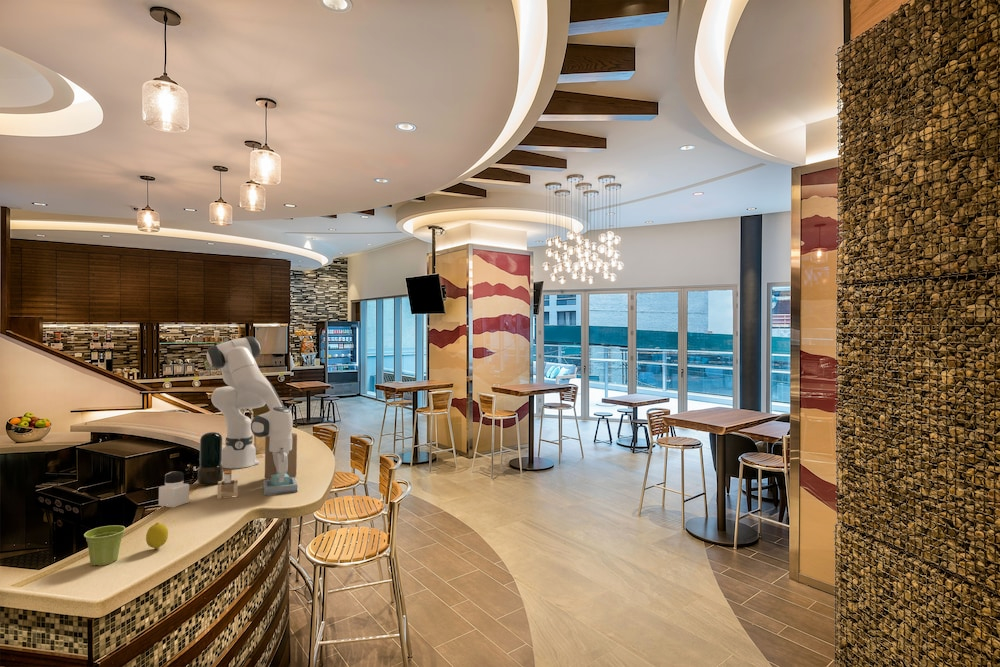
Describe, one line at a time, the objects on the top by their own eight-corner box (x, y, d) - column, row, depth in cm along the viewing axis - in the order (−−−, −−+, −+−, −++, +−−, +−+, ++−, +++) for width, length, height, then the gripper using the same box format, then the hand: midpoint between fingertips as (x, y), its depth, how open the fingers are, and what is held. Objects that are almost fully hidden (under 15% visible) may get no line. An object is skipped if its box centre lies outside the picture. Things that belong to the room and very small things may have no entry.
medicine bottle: (189, 502, 199) (190, 471, 200) (173, 508, 193) (173, 475, 193) (174, 500, 201) (175, 469, 201) (158, 506, 195) (158, 474, 195)
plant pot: (120, 552, 154) (120, 522, 154) (128, 561, 147) (129, 530, 147) (79, 561, 147) (80, 531, 147) (87, 572, 140) (88, 540, 140)
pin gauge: (223, 494, 209) (223, 470, 209) (230, 493, 211) (231, 469, 210) (224, 496, 207) (224, 471, 207) (231, 495, 208) (232, 470, 208)
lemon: (170, 549, 156) (170, 522, 156) (148, 554, 152) (149, 527, 152) (164, 544, 160) (165, 518, 160) (143, 549, 156) (143, 522, 156)
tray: (263, 487, 220) (263, 480, 220) (294, 484, 226) (294, 477, 226) (264, 495, 209) (264, 488, 209) (297, 491, 215) (297, 484, 215)
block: (263, 478, 233) (264, 434, 233) (282, 473, 242) (283, 431, 242) (278, 482, 228) (279, 436, 228) (297, 476, 237) (298, 433, 237)
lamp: (227, 482, 227) (228, 431, 227) (206, 487, 219) (207, 435, 219) (213, 478, 232) (214, 429, 232) (192, 484, 223) (193, 433, 223)
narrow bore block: (270, 486, 218) (271, 475, 218) (285, 484, 222) (286, 473, 222) (273, 490, 213) (274, 478, 213) (289, 488, 217) (289, 476, 217)
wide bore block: (218, 493, 210) (218, 481, 210) (237, 491, 213) (237, 479, 213) (217, 498, 204) (217, 486, 204) (237, 496, 207) (237, 484, 207)
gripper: (291, 450, 210) (291, 484, 210) (286, 441, 228) (285, 472, 228) (274, 451, 207) (274, 486, 207) (270, 442, 225) (270, 474, 225)
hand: (280, 479), depth 218 cm, fingers open, 8 cm apart
